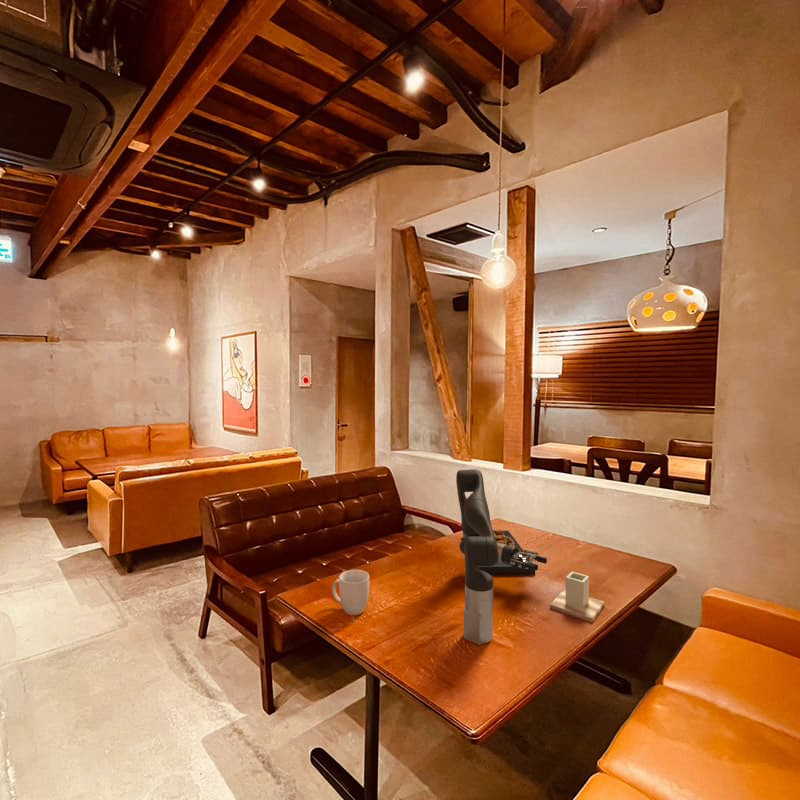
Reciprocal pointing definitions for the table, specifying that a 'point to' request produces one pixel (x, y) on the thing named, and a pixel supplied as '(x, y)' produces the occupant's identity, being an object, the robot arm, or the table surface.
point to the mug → (352, 591)
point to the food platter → (502, 568)
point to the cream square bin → (577, 590)
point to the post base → (586, 614)
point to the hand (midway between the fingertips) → (542, 564)
